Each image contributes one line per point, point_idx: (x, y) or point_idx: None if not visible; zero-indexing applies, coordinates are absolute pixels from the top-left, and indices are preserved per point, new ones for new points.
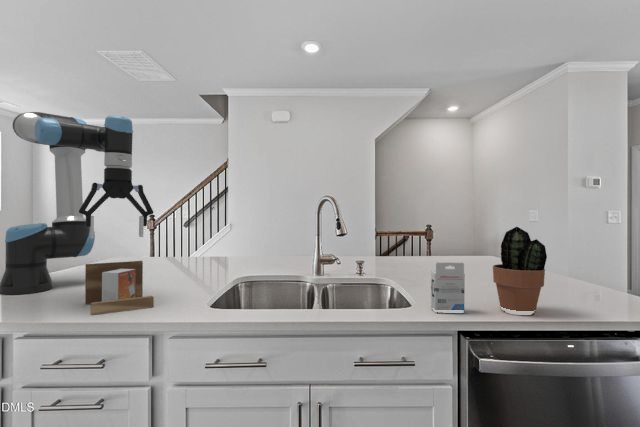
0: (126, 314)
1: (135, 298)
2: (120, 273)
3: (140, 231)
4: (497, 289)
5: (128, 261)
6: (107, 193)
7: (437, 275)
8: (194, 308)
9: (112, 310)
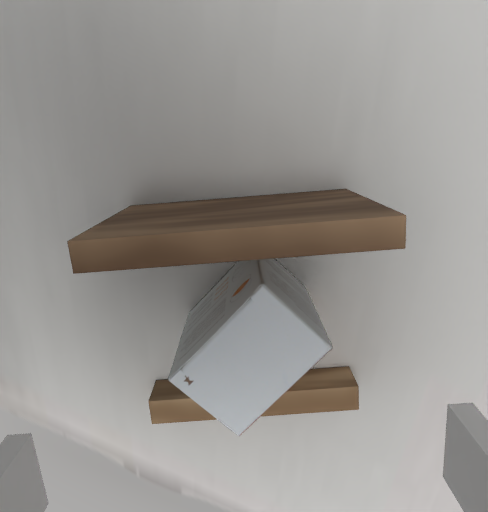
0: (256, 438)
1: (295, 404)
2: (249, 424)
3: (471, 510)
4: None
5: (320, 224)
6: None
7: None
8: None
9: None
